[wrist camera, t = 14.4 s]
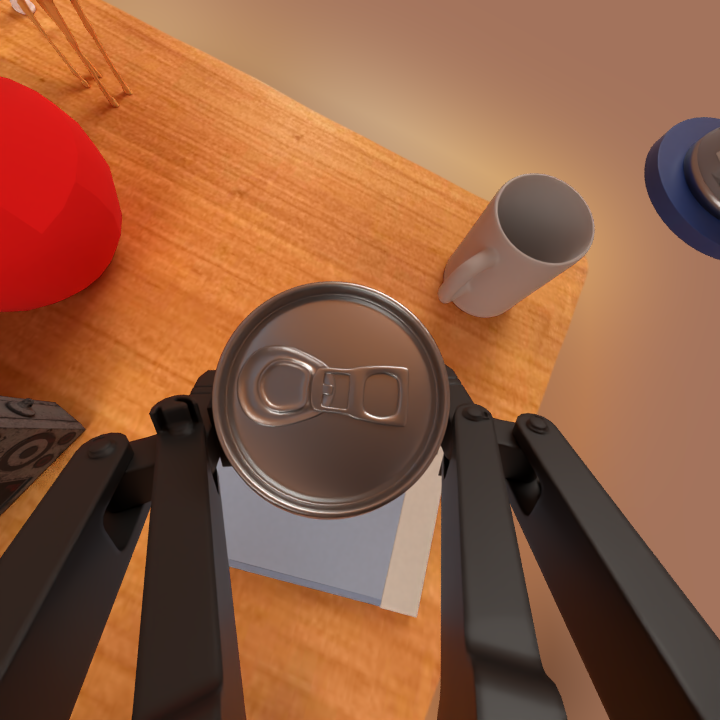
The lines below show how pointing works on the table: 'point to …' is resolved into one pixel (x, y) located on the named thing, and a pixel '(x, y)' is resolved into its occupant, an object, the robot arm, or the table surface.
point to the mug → (518, 245)
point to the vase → (50, 203)
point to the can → (330, 400)
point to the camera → (30, 442)
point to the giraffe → (75, 43)
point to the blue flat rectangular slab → (337, 543)
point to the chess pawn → (18, 8)
